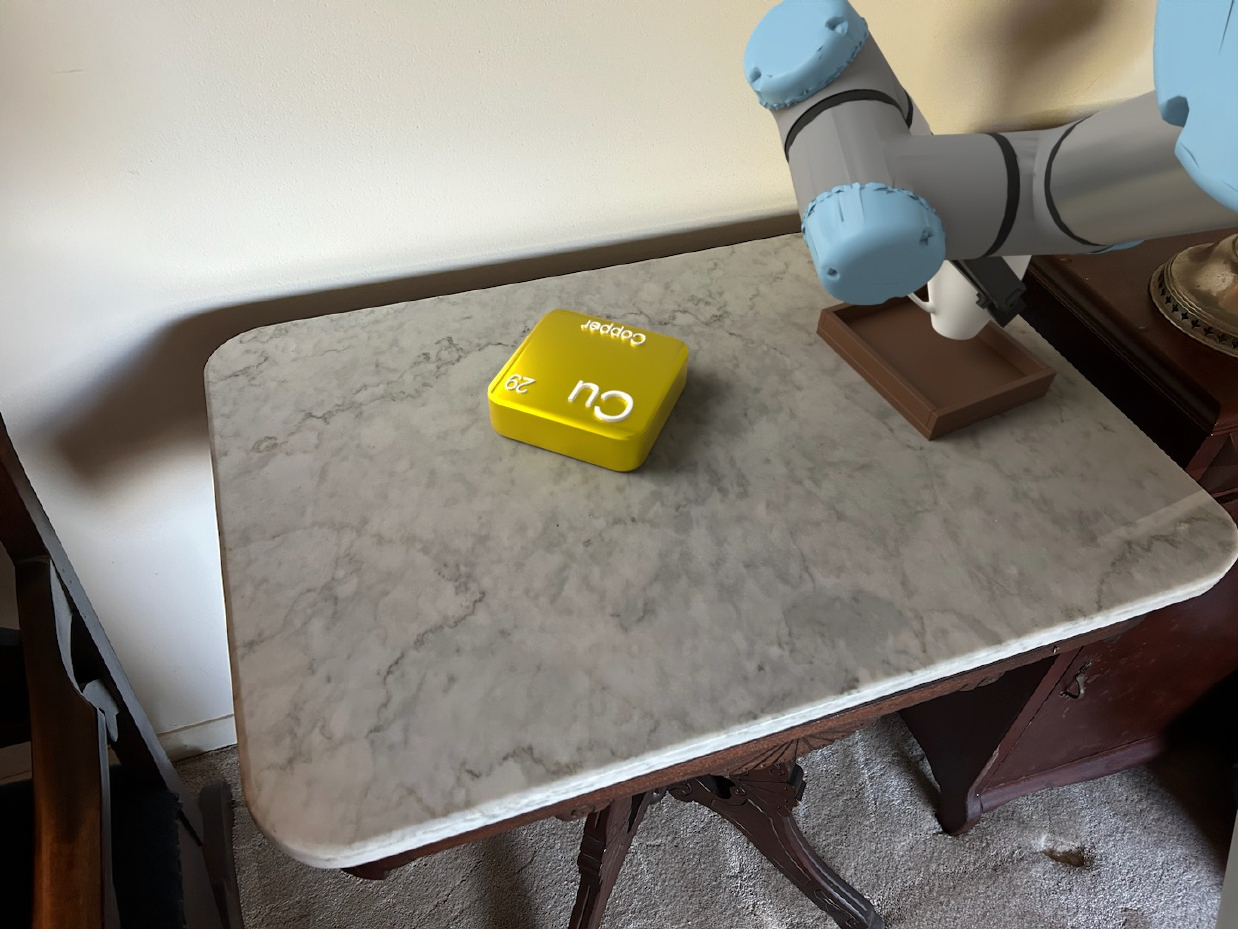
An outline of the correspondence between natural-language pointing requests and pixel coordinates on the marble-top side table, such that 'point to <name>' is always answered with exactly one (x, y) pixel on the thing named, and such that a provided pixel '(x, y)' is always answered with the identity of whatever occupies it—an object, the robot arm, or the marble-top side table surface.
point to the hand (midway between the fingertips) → (977, 288)
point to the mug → (960, 300)
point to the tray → (933, 364)
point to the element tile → (589, 389)
